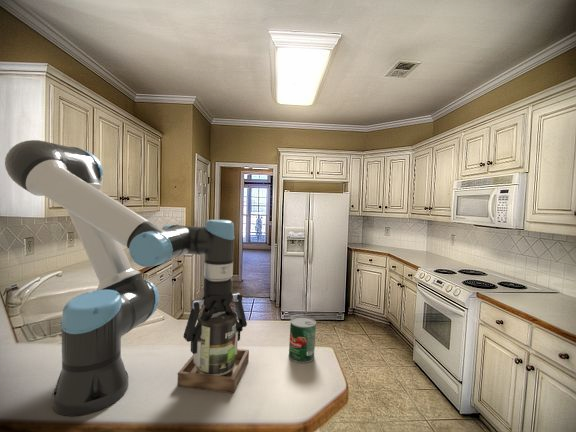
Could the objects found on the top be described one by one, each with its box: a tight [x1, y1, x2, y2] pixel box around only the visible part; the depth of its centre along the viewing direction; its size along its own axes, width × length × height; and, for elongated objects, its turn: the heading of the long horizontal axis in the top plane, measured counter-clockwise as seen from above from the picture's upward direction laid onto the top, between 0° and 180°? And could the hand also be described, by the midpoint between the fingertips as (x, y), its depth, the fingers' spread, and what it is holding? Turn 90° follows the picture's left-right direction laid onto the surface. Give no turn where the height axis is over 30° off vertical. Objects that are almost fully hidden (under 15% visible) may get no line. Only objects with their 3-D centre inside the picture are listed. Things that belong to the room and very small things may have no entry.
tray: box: [177, 348, 250, 394], centre depth 82 cm, size 15×15×4 cm
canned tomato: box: [288, 316, 317, 364], centre depth 92 cm, size 8×8×11 cm
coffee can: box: [196, 310, 238, 376], centre depth 82 cm, size 10×10×14 cm
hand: (215, 358), depth 82 cm, fingers closed on coffee can, 10 cm apart
